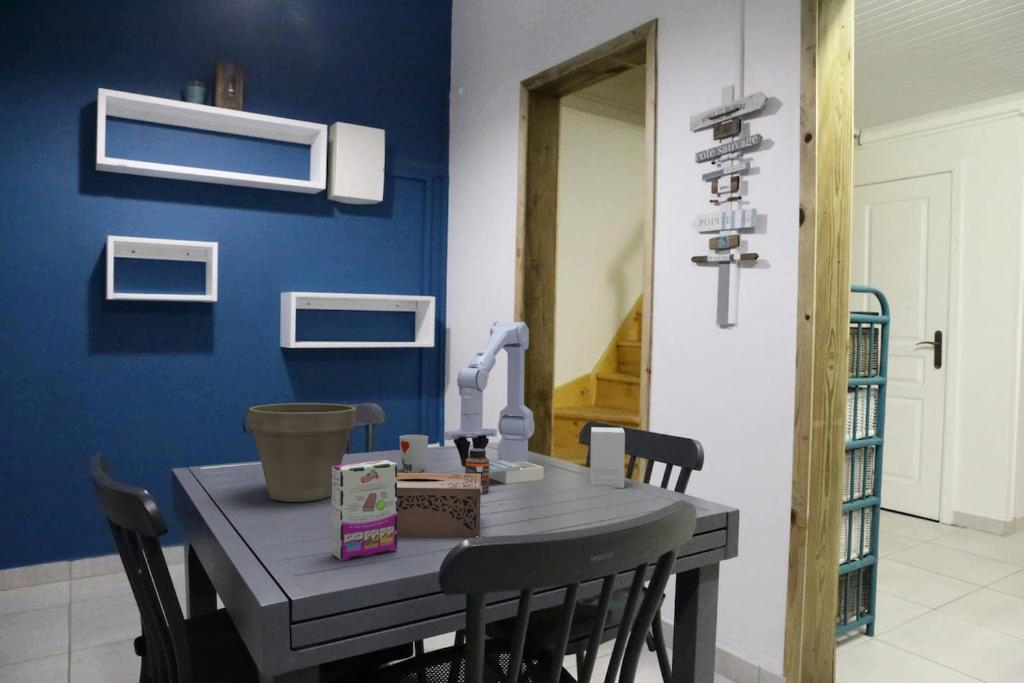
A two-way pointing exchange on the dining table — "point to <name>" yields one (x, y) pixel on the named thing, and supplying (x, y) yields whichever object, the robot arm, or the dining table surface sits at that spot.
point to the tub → (519, 474)
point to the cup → (413, 452)
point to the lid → (500, 465)
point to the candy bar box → (364, 509)
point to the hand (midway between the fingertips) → (470, 465)
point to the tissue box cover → (438, 504)
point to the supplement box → (607, 456)
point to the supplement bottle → (479, 467)
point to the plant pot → (301, 447)
